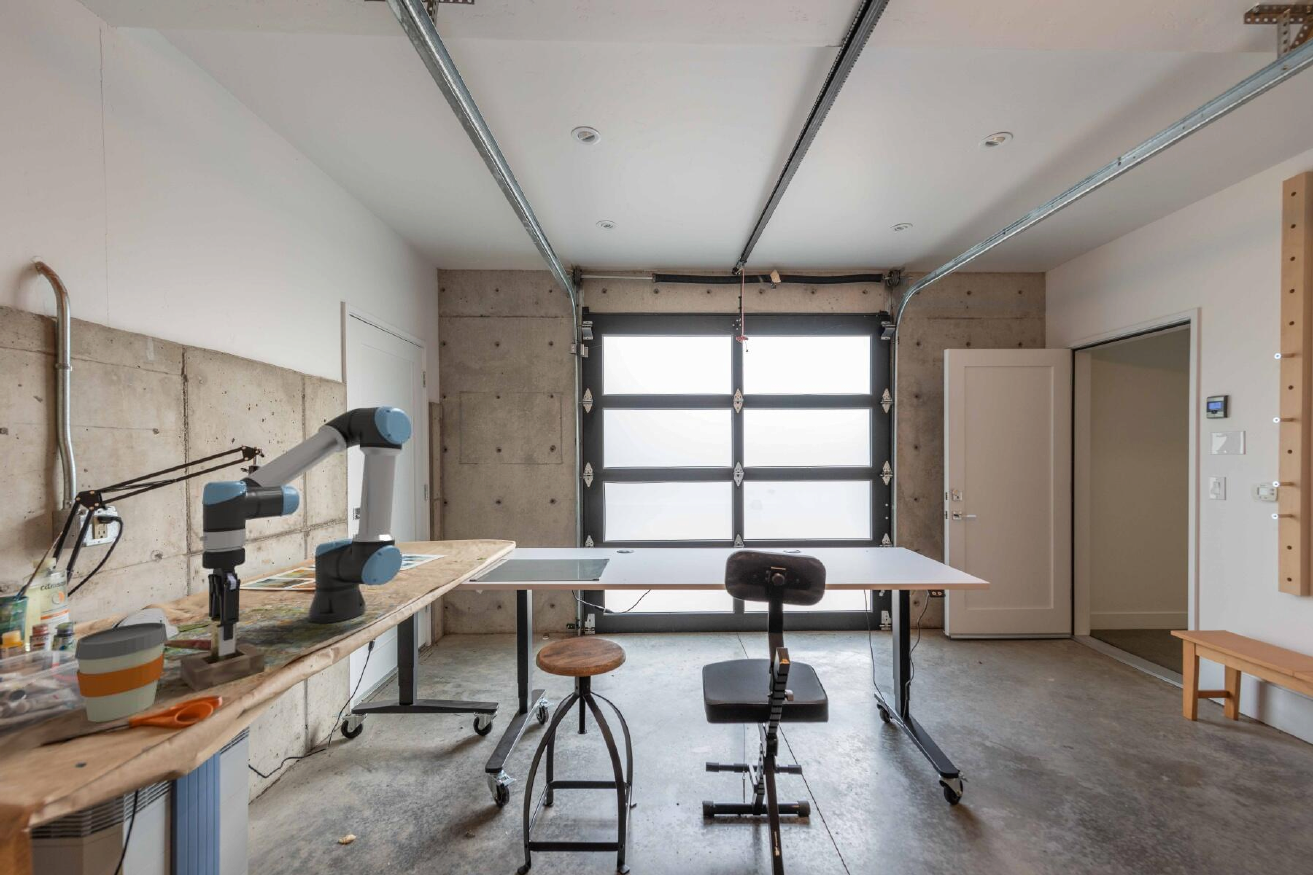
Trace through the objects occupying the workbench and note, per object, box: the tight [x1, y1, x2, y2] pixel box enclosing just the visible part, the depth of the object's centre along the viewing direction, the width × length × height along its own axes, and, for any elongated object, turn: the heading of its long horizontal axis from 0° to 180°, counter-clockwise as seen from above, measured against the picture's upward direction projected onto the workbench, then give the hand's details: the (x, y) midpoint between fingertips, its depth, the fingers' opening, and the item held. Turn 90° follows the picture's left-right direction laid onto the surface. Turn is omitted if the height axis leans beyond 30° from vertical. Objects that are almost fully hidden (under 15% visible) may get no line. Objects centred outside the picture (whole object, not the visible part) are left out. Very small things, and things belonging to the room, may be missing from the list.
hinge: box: [108, 607, 180, 639], centre depth 135 cm, size 17×5×10 cm, turn 16°
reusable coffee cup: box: [74, 623, 168, 723], centre depth 100 cm, size 13×13×15 cm
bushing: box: [210, 619, 238, 664], centre depth 116 cm, size 4×4×9 cm
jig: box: [179, 642, 266, 692], centre depth 115 cm, size 12×12×4 cm
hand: (223, 651), depth 115 cm, fingers closed on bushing, 4 cm apart
